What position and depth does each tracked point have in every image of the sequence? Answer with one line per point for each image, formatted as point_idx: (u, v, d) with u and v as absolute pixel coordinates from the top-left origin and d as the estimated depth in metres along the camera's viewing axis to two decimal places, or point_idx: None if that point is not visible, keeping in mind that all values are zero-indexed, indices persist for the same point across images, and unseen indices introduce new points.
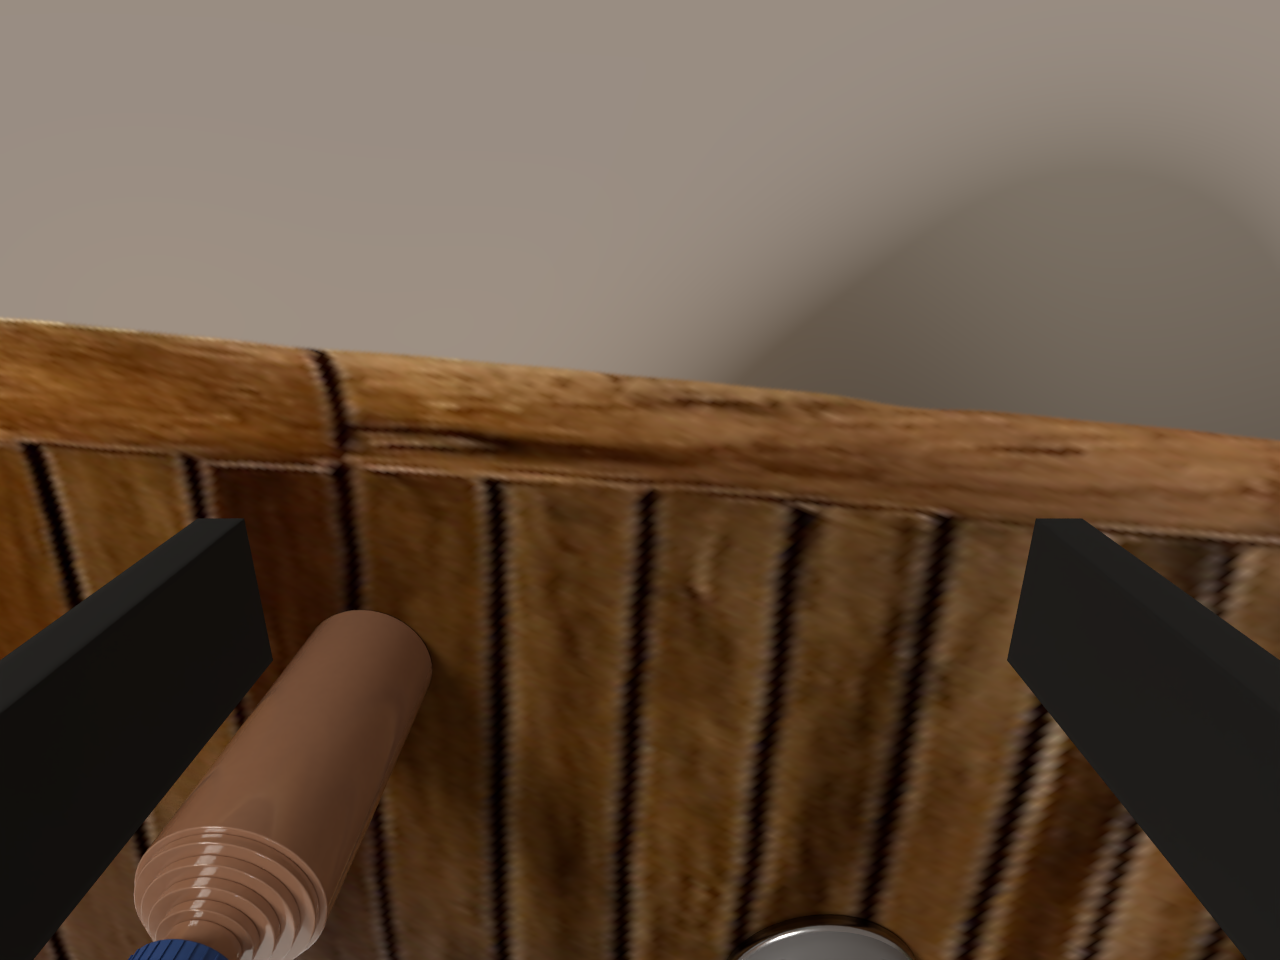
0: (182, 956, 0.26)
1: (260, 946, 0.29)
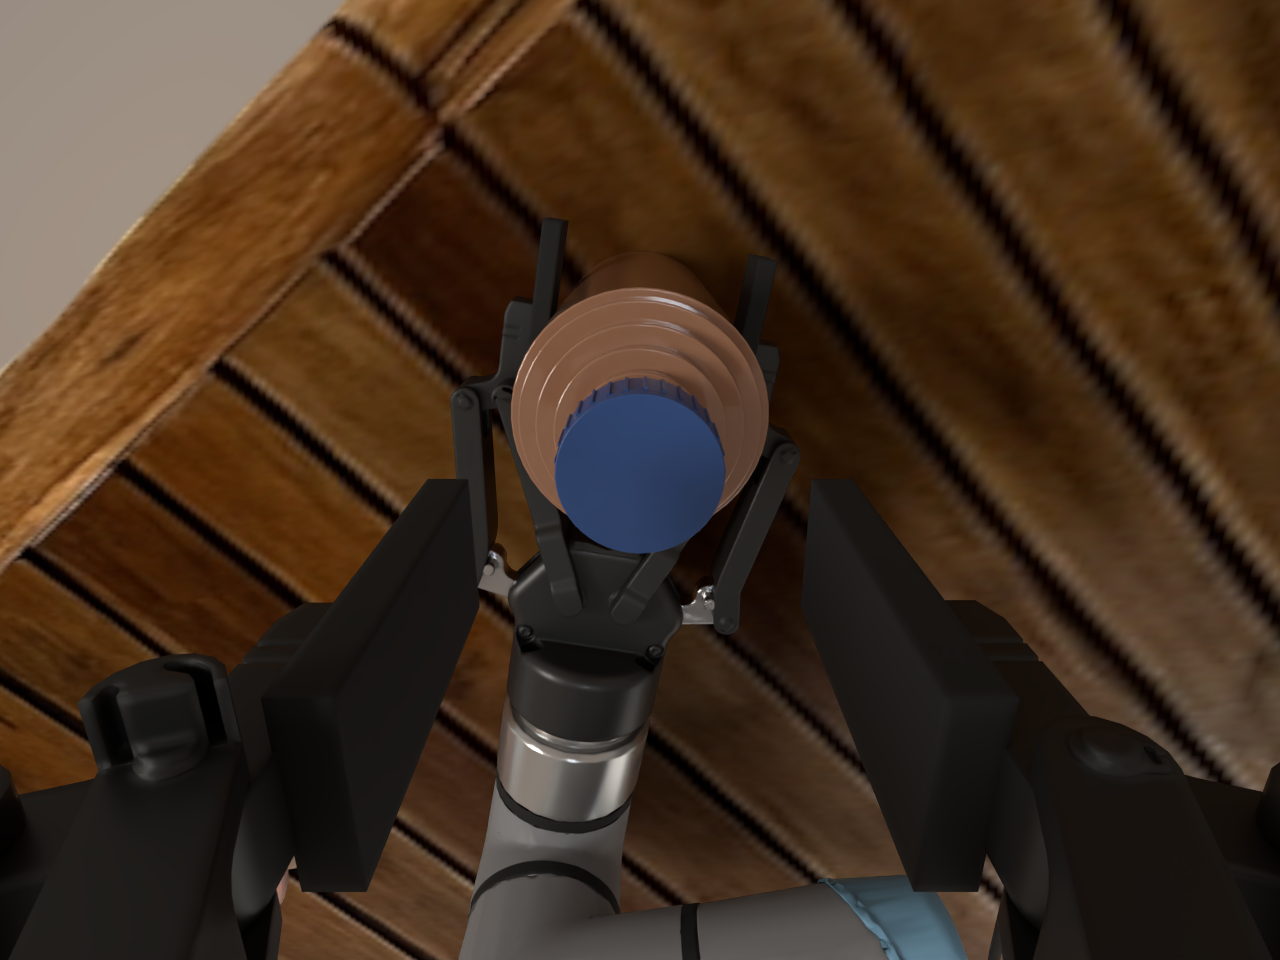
0: (603, 392, 0.18)
1: None
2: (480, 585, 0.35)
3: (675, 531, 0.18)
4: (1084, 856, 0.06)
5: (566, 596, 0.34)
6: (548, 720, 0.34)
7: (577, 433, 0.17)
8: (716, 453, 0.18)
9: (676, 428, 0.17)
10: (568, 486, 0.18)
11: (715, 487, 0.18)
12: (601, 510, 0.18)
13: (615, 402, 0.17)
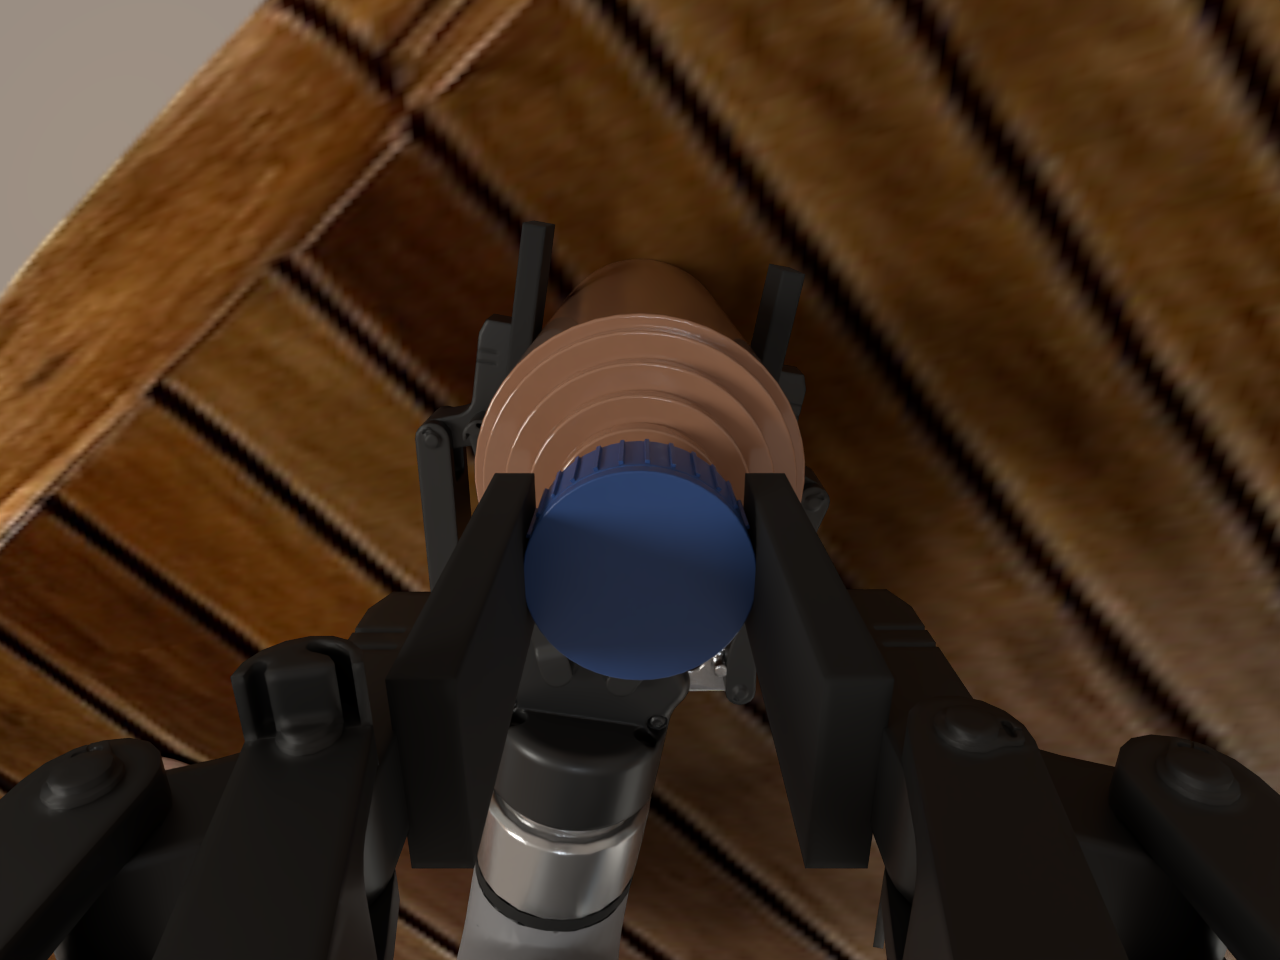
0: (589, 463, 0.13)
1: (721, 470, 0.16)
2: None
3: (688, 652, 0.13)
4: (945, 834, 0.06)
5: (553, 663, 0.29)
6: (533, 807, 0.29)
7: (552, 524, 0.13)
8: (745, 550, 0.13)
9: (690, 517, 0.12)
10: (541, 594, 0.13)
11: (743, 595, 0.13)
12: (587, 625, 0.13)
13: (605, 482, 0.12)
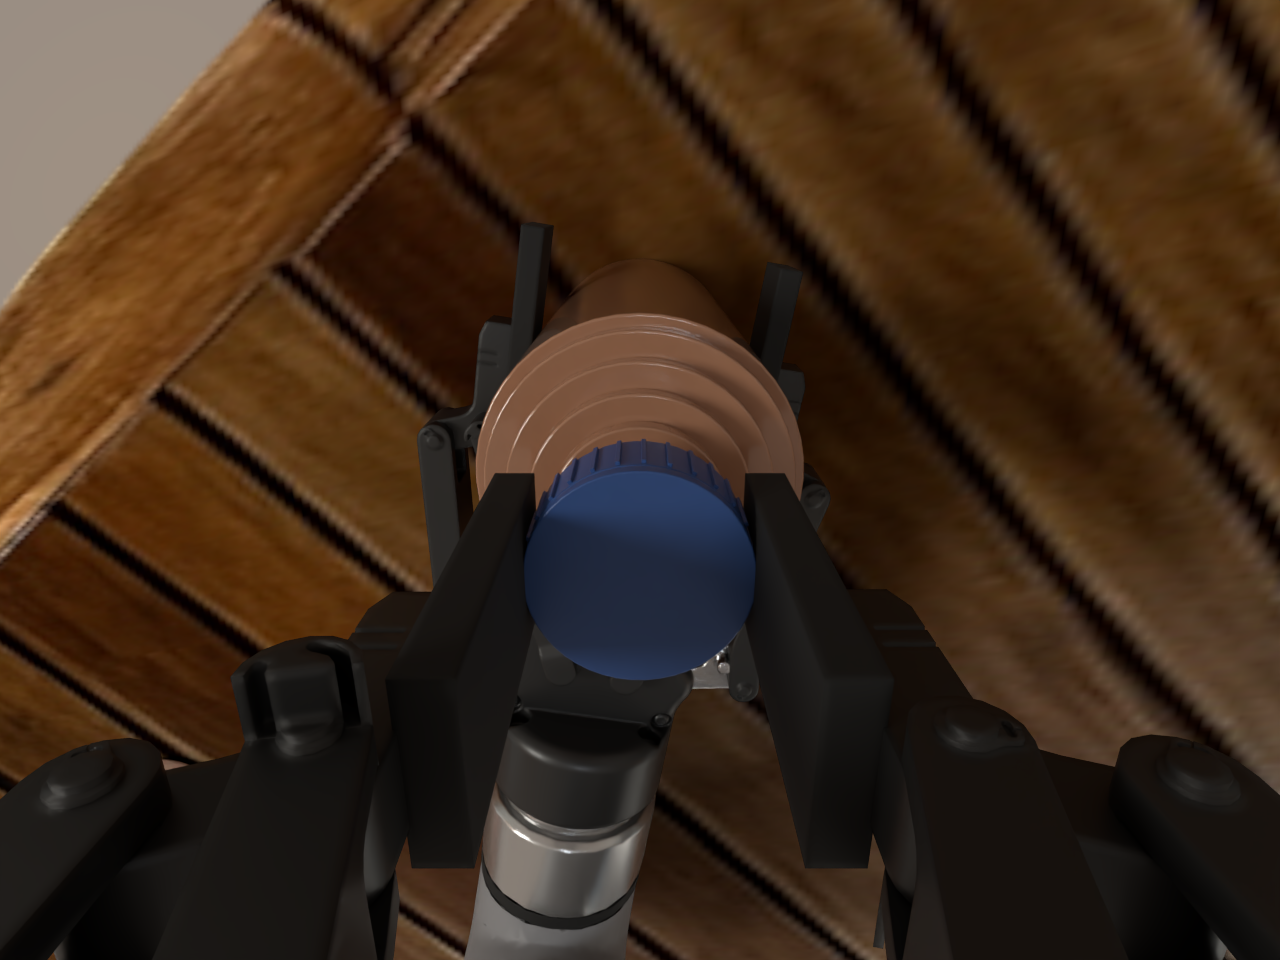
0: None
1: (720, 468, 0.16)
2: None
3: (657, 493, 0.12)
4: (945, 834, 0.06)
5: (557, 663, 0.29)
6: (538, 805, 0.30)
7: (660, 668, 0.14)
8: (537, 541, 0.13)
9: (557, 598, 0.13)
10: (720, 630, 0.13)
11: (569, 506, 0.12)
12: (713, 580, 0.13)
13: (596, 665, 0.14)
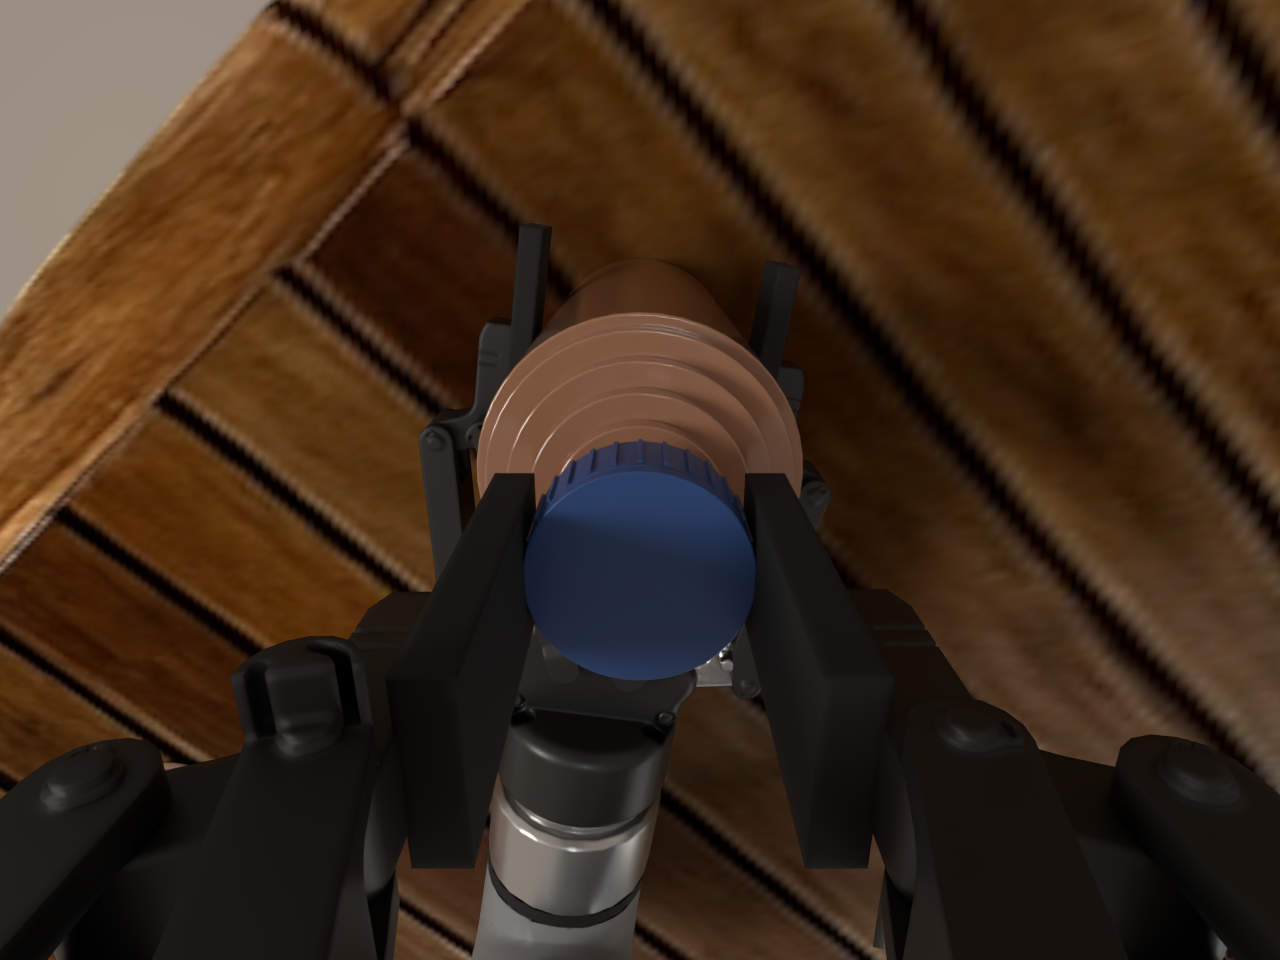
0: None
1: (719, 465, 0.16)
2: None
3: (565, 633, 0.13)
4: (945, 834, 0.06)
5: (561, 662, 0.29)
6: (543, 804, 0.30)
7: (694, 497, 0.12)
8: (683, 666, 0.14)
9: (713, 617, 0.13)
10: (614, 492, 0.12)
11: (636, 671, 0.14)
12: (582, 538, 0.13)
13: (742, 540, 0.13)
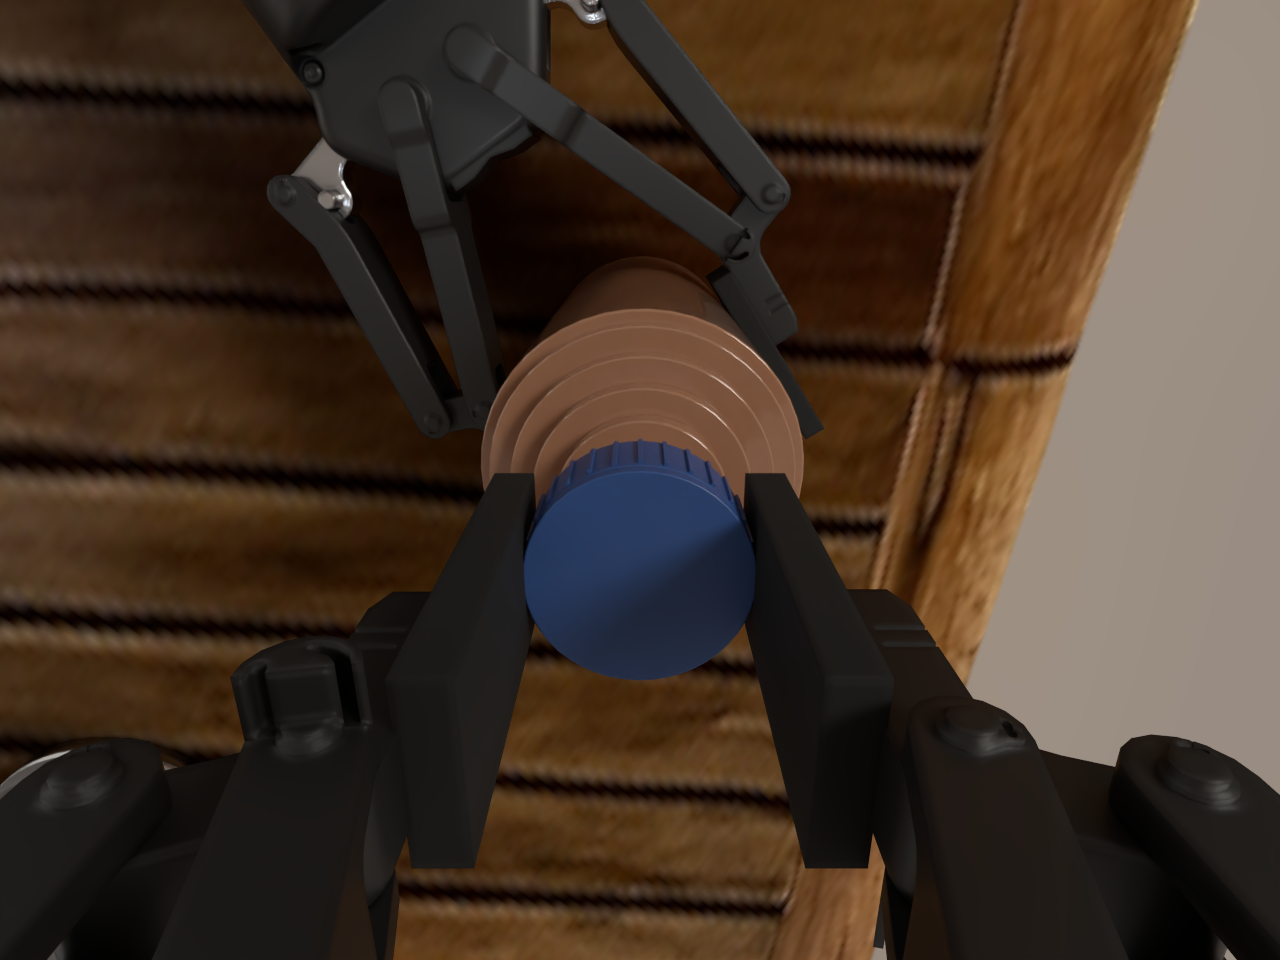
0: None
1: None
2: None
3: (565, 633, 0.13)
4: (945, 834, 0.06)
5: (479, 59, 0.22)
6: None
7: (694, 497, 0.12)
8: (683, 666, 0.14)
9: (713, 617, 0.13)
10: (613, 492, 0.12)
11: (636, 671, 0.14)
12: (582, 538, 0.13)
13: (742, 540, 0.13)
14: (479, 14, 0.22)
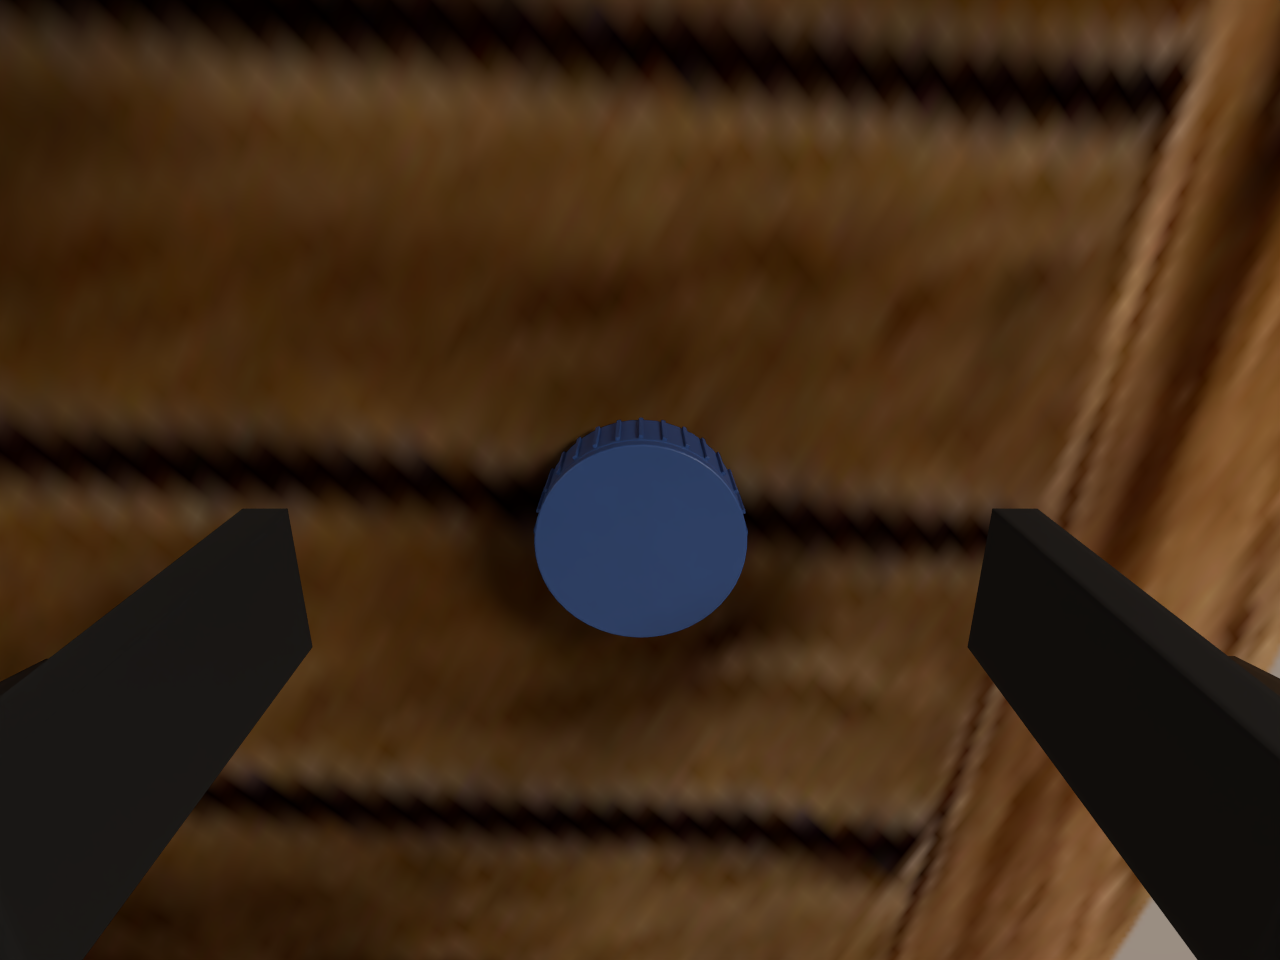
0: None
1: None
2: None
3: (573, 593, 0.15)
4: None
5: None
6: None
7: (690, 468, 0.14)
8: (680, 624, 0.15)
9: (707, 579, 0.15)
10: (617, 463, 0.14)
11: (637, 629, 0.15)
12: (589, 506, 0.14)
13: (733, 508, 0.14)
14: None
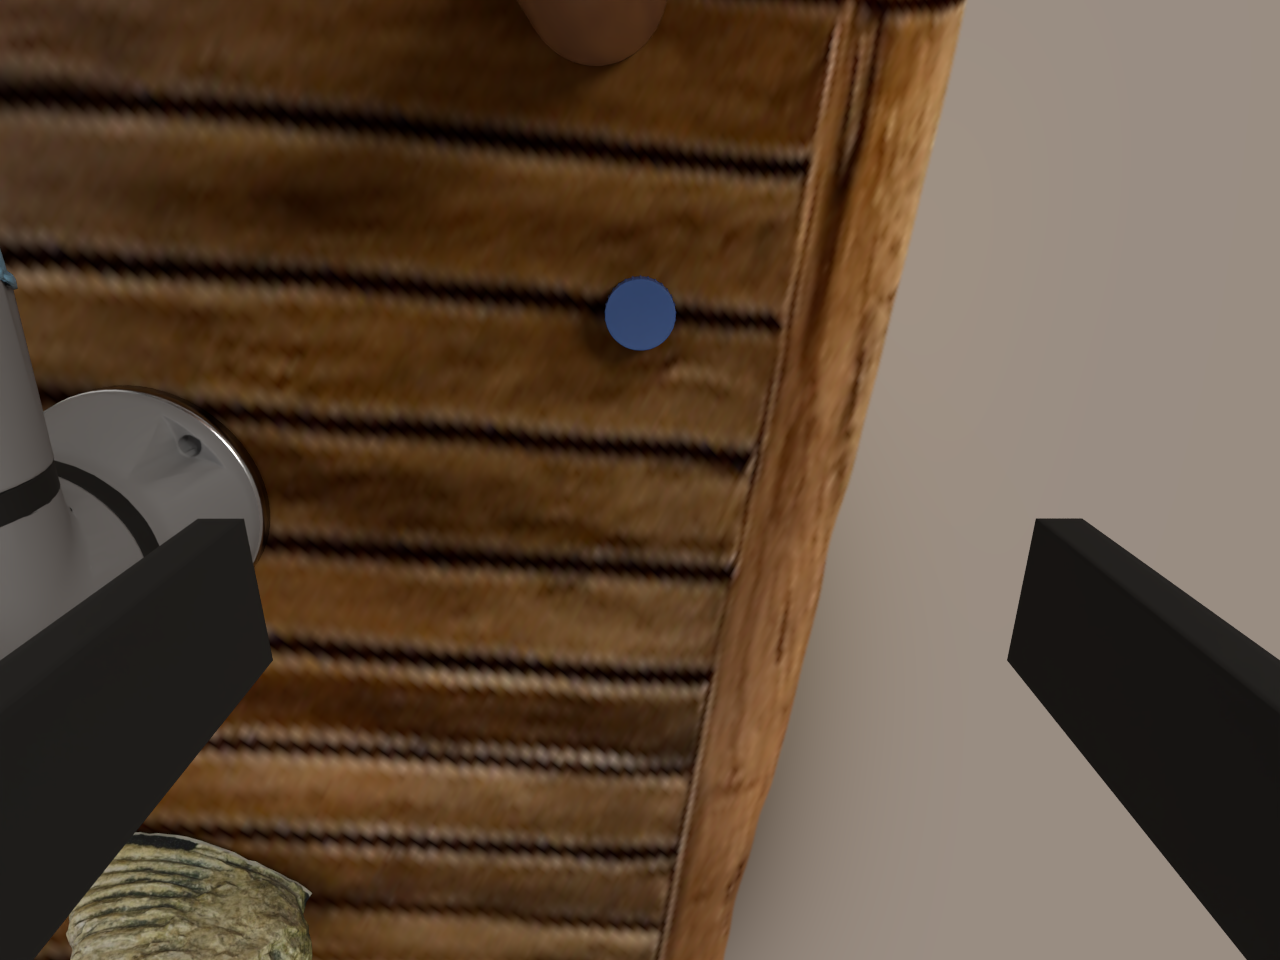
0: (668, 293, 0.44)
1: None
2: None
3: (617, 333, 0.43)
4: None
5: None
6: None
7: (656, 287, 0.43)
8: (653, 345, 0.44)
9: (662, 327, 0.43)
10: (632, 285, 0.43)
11: (639, 347, 0.44)
12: (623, 300, 0.43)
13: (670, 301, 0.43)
14: None
